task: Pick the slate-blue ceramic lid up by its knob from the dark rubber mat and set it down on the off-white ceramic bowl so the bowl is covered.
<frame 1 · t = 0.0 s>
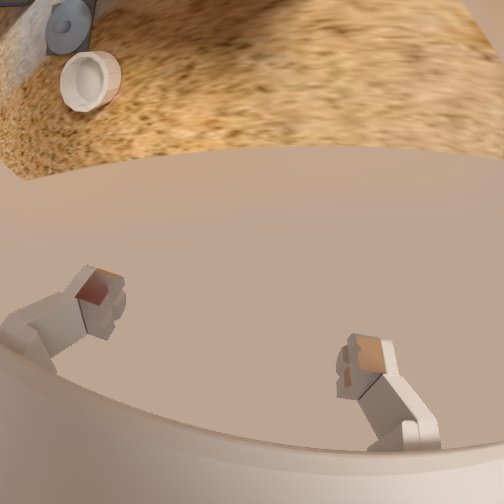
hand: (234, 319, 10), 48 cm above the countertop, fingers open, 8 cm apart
mat: (70, 26, 42), on the countertop
lid: (68, 26, 42), point 1 cm above the countertop, touching mat
bowl: (96, 78, 49), on the countertop
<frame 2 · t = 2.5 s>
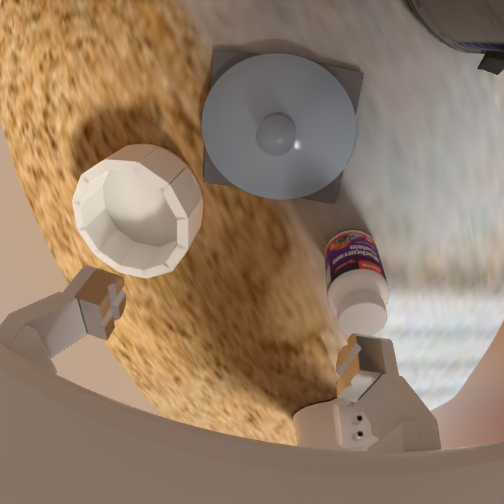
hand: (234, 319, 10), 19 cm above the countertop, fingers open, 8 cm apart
beverage bottle: (450, 8, 16), on the countertop
mat: (279, 125, 25), on the countertop
pill bottle: (350, 250, 31), on the countertop
lid: (278, 127, 24), point 1 cm above the countertop, touching mat
bowl: (148, 199, 31), on the countertop
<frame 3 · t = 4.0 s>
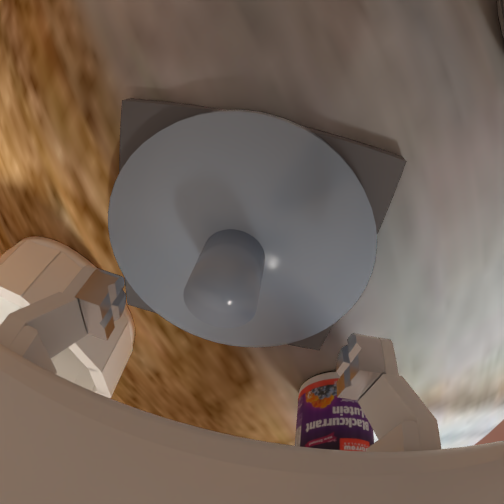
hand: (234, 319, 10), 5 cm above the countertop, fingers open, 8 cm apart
mat: (238, 240, 15), on the countertop
pill bottle: (333, 386, 22), on the countertop
lid: (236, 246, 15), point 1 cm above the countertop, touching mat
bowl: (66, 304, 20), on the countertop
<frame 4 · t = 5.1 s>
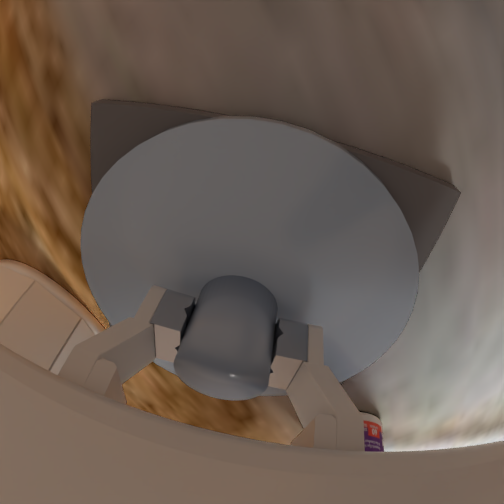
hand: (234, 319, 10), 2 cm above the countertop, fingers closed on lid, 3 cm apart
mat: (243, 281, 12), on the countertop
pill bottle: (343, 423, 19), on the countertop
lid: (241, 291, 12), point 1 cm above the countertop, touching gripper, mat
bowl: (48, 331, 17), on the countertop
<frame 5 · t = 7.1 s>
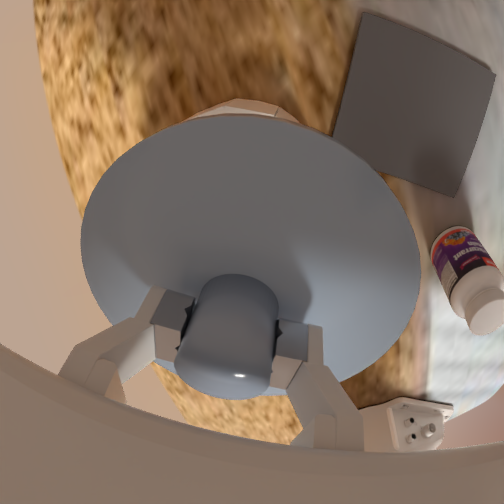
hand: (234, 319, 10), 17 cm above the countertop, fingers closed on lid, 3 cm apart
mat: (417, 108, 20), on the countertop
pill bottle: (452, 246, 26), on the countertop
lid: (242, 290, 12), point 16 cm above the countertop, touching gripper
bowl: (246, 170, 25), on the countertop
when the fingers open (8 cm above the countertop, at t = 9.3 s): lid drops 1 cm, resting on bowl.
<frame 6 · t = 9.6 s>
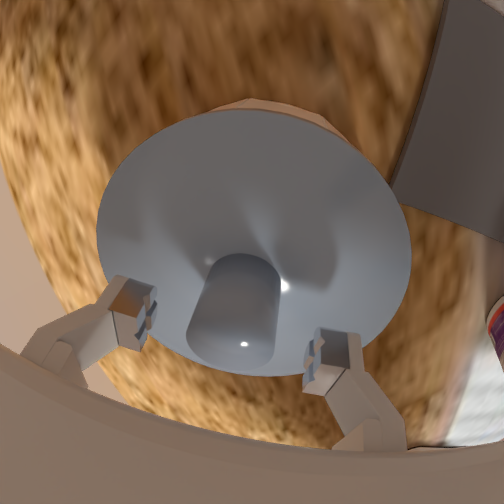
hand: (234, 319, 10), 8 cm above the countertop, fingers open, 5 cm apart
lid: (247, 271, 13), point 5 cm above the countertop, touching bowl
bowl: (259, 213, 17), on the countertop
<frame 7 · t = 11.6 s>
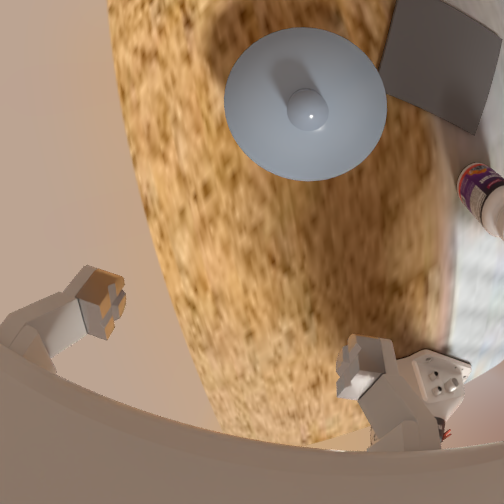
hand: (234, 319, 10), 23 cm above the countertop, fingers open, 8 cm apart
mat: (442, 58, 21), on the countertop
pill bottle: (473, 182, 28), on the countertop
lid: (306, 104, 22), point 5 cm above the countertop, touching bowl
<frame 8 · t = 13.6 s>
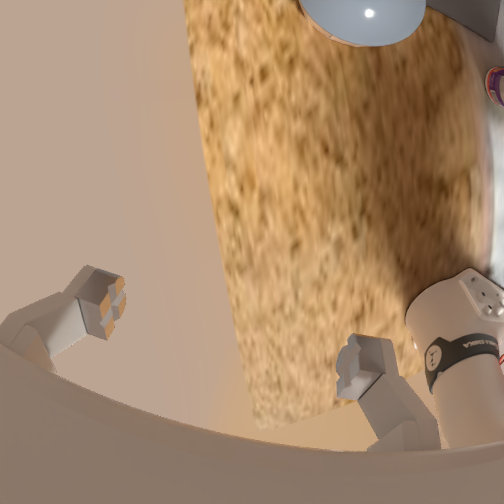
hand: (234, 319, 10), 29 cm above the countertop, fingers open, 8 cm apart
pill bottle: (498, 85, 25), on the countertop
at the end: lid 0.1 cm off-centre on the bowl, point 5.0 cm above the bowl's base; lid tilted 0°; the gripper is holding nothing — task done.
